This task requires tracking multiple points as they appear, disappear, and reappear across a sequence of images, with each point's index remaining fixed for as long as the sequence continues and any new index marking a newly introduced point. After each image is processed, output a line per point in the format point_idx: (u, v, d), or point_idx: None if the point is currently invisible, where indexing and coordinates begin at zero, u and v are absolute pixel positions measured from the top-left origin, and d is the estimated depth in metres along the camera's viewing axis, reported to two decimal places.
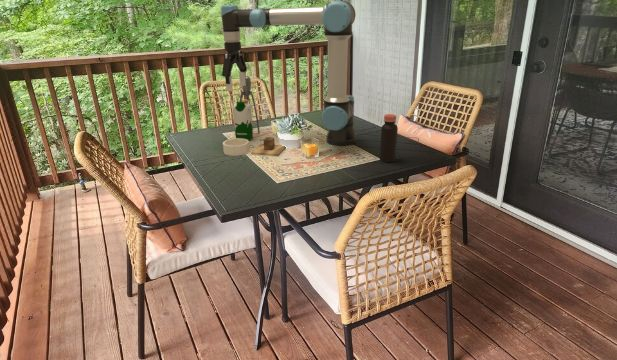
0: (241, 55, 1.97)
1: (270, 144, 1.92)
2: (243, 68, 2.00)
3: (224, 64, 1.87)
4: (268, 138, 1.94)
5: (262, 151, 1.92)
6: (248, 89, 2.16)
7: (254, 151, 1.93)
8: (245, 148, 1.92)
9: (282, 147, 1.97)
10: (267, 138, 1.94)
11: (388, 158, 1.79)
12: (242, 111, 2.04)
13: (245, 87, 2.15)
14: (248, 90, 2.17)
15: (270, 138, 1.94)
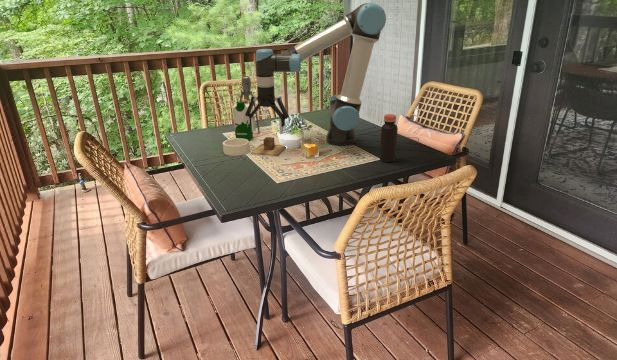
0: (277, 102, 1.85)
1: (270, 144, 1.92)
2: (279, 116, 1.87)
3: None
4: (268, 138, 1.94)
5: (262, 151, 1.92)
6: (248, 89, 2.16)
7: (254, 151, 1.93)
8: (245, 148, 1.92)
9: (282, 147, 1.97)
10: (267, 138, 1.94)
11: (388, 158, 1.79)
12: (242, 111, 2.04)
13: (245, 87, 2.15)
14: (248, 90, 2.17)
15: (270, 138, 1.94)
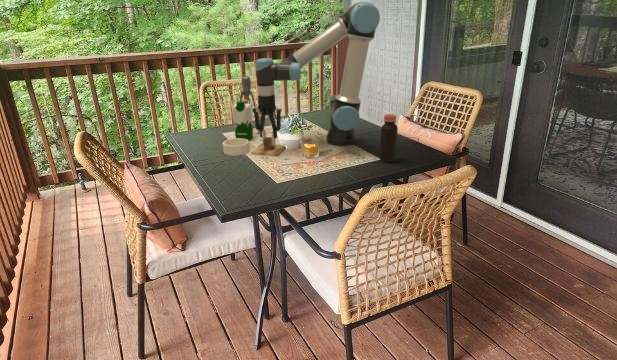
0: None
1: (270, 144, 1.92)
2: (272, 127, 1.90)
3: None
4: (268, 138, 1.94)
5: (262, 151, 1.92)
6: (248, 89, 2.16)
7: (254, 151, 1.93)
8: (245, 148, 1.92)
9: (282, 147, 1.97)
10: (267, 138, 1.94)
11: (388, 158, 1.79)
12: (242, 111, 2.04)
13: (245, 87, 2.15)
14: (248, 90, 2.17)
15: (270, 138, 1.94)
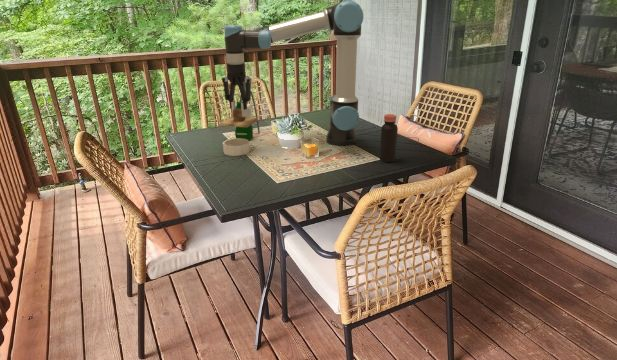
0: (246, 82, 1.81)
1: (240, 115, 1.87)
2: (242, 97, 1.84)
3: None
4: (238, 109, 1.88)
5: (231, 122, 1.87)
6: None
7: (223, 122, 1.87)
8: (245, 148, 1.92)
9: (253, 119, 1.92)
10: (237, 109, 1.89)
11: (388, 158, 1.79)
12: None
13: (245, 87, 2.15)
14: None
15: (240, 109, 1.88)
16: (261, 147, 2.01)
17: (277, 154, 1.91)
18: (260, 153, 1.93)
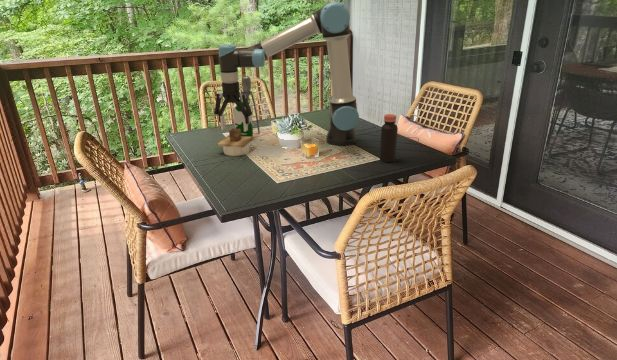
0: (242, 98, 1.84)
1: (236, 135, 1.91)
2: (243, 113, 1.86)
3: None
4: (234, 129, 1.92)
5: (228, 142, 1.91)
6: (248, 89, 2.16)
7: (220, 142, 1.91)
8: (245, 148, 1.92)
9: (249, 138, 1.95)
10: (233, 129, 1.92)
11: (388, 158, 1.79)
12: None
13: (245, 87, 2.15)
14: (248, 90, 2.17)
15: (236, 129, 1.92)
16: (261, 147, 2.01)
17: (277, 154, 1.91)
18: (260, 153, 1.93)
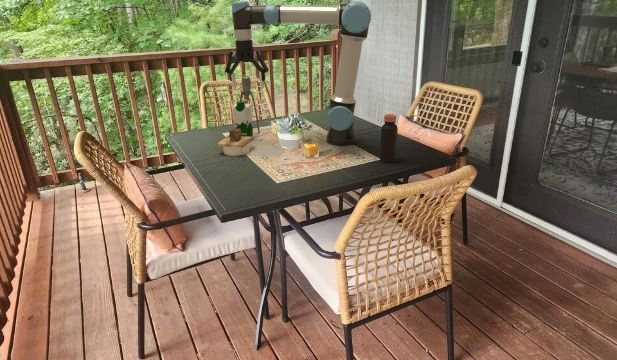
0: (256, 55, 1.83)
1: (236, 135, 1.91)
2: (259, 70, 1.85)
3: None
4: (234, 129, 1.92)
5: (228, 142, 1.91)
6: (248, 89, 2.16)
7: (220, 142, 1.91)
8: (245, 148, 1.92)
9: (249, 138, 1.95)
10: (233, 129, 1.92)
11: (388, 158, 1.79)
12: (242, 111, 2.04)
13: (245, 87, 2.15)
14: (248, 90, 2.17)
15: (236, 129, 1.92)
16: (261, 147, 2.01)
17: (277, 154, 1.91)
18: (260, 153, 1.93)
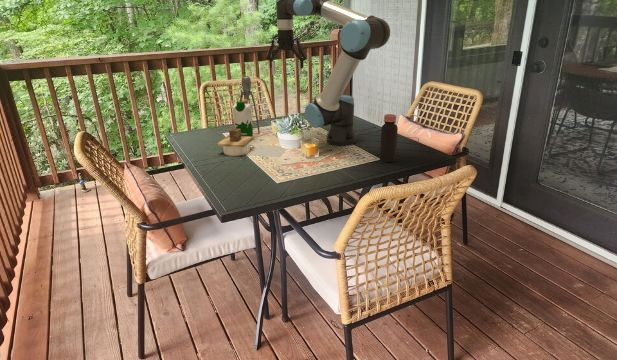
0: (296, 44, 1.97)
1: (236, 135, 1.91)
2: (298, 57, 2.00)
3: None
4: (234, 129, 1.92)
5: (228, 142, 1.91)
6: (248, 89, 2.16)
7: (220, 142, 1.91)
8: (245, 148, 1.92)
9: (249, 138, 1.95)
10: (233, 129, 1.92)
11: (388, 158, 1.79)
12: (242, 111, 2.04)
13: (245, 87, 2.15)
14: (248, 90, 2.17)
15: (236, 129, 1.92)
16: (261, 147, 2.01)
17: (277, 154, 1.91)
18: (260, 153, 1.93)
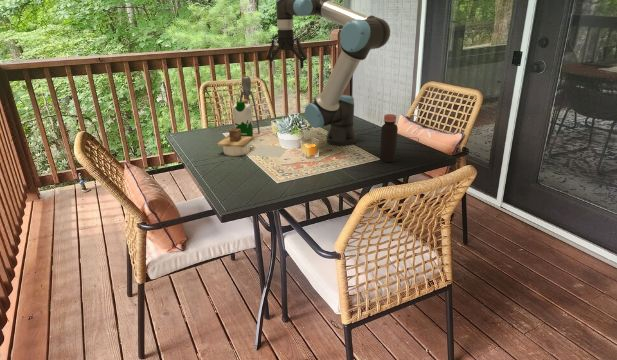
0: (296, 44, 1.97)
1: (236, 135, 1.91)
2: (298, 57, 2.00)
3: None
4: (234, 129, 1.92)
5: (228, 142, 1.91)
6: (248, 89, 2.16)
7: (220, 142, 1.91)
8: (245, 148, 1.92)
9: (249, 138, 1.95)
10: (233, 129, 1.92)
11: (388, 158, 1.79)
12: (242, 111, 2.04)
13: (245, 87, 2.15)
14: (248, 90, 2.17)
15: (236, 129, 1.92)
16: (261, 147, 2.01)
17: (277, 154, 1.91)
18: (260, 153, 1.93)
